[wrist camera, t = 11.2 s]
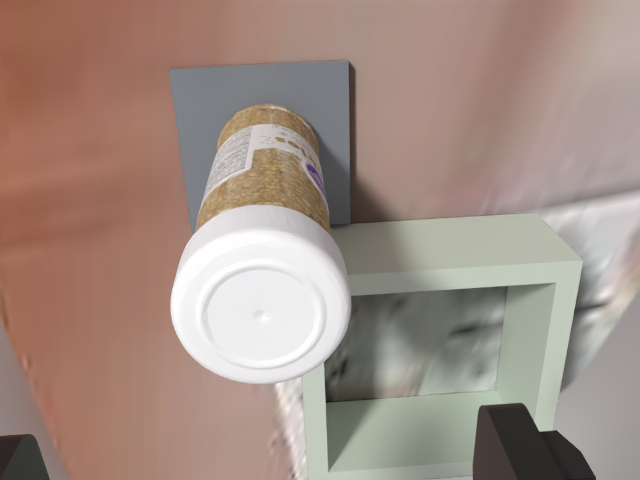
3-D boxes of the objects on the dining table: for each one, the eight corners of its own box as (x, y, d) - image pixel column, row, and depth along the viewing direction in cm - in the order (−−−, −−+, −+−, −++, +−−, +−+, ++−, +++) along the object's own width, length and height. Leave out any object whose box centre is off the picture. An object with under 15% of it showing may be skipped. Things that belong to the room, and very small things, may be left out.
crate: (536, 212, 30) (583, 260, 25) (510, 402, 35) (545, 469, 30) (292, 227, 29) (296, 278, 25) (304, 418, 34) (308, 488, 30)
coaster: (347, 59, 26) (348, 61, 25) (349, 219, 29) (350, 223, 29) (170, 67, 25) (169, 69, 25) (193, 228, 29) (191, 232, 28)
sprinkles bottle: (339, 155, 27) (391, 322, 15) (264, 217, 28) (257, 419, 16) (270, 77, 25) (266, 196, 13) (193, 147, 27) (126, 314, 14)
